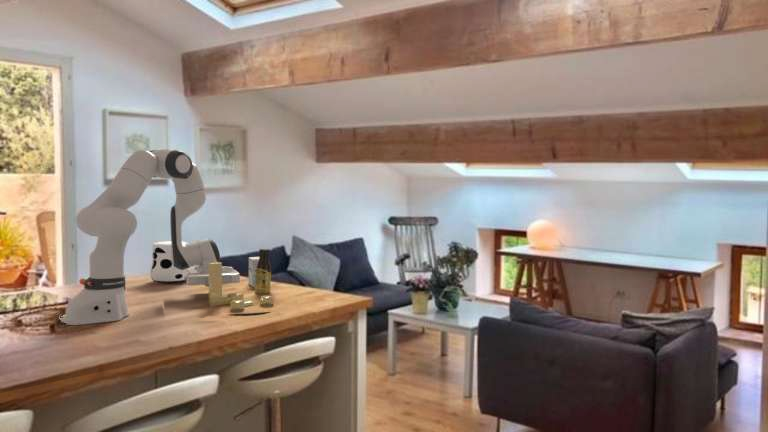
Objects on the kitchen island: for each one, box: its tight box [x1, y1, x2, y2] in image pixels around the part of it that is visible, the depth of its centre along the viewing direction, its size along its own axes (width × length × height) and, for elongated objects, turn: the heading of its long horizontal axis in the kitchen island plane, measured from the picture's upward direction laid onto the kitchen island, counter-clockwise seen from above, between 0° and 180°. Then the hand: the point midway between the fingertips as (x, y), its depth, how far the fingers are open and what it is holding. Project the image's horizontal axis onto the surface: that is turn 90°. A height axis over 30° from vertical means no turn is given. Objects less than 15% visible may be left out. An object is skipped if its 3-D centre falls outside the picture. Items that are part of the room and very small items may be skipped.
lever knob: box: [208, 262, 245, 307], centre depth 242 cm, size 14×6×16 cm, turn 135°
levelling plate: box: [228, 295, 274, 317], centre depth 240 cm, size 22×22×4 cm
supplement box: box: [248, 256, 260, 288], centre depth 288 cm, size 7×7×13 cm
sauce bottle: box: [254, 247, 272, 295], centre depth 265 cm, size 6×6×20 cm
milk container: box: [150, 240, 191, 284], centre depth 292 cm, size 17×17×18 cm
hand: (215, 282), depth 240 cm, fingers closed
